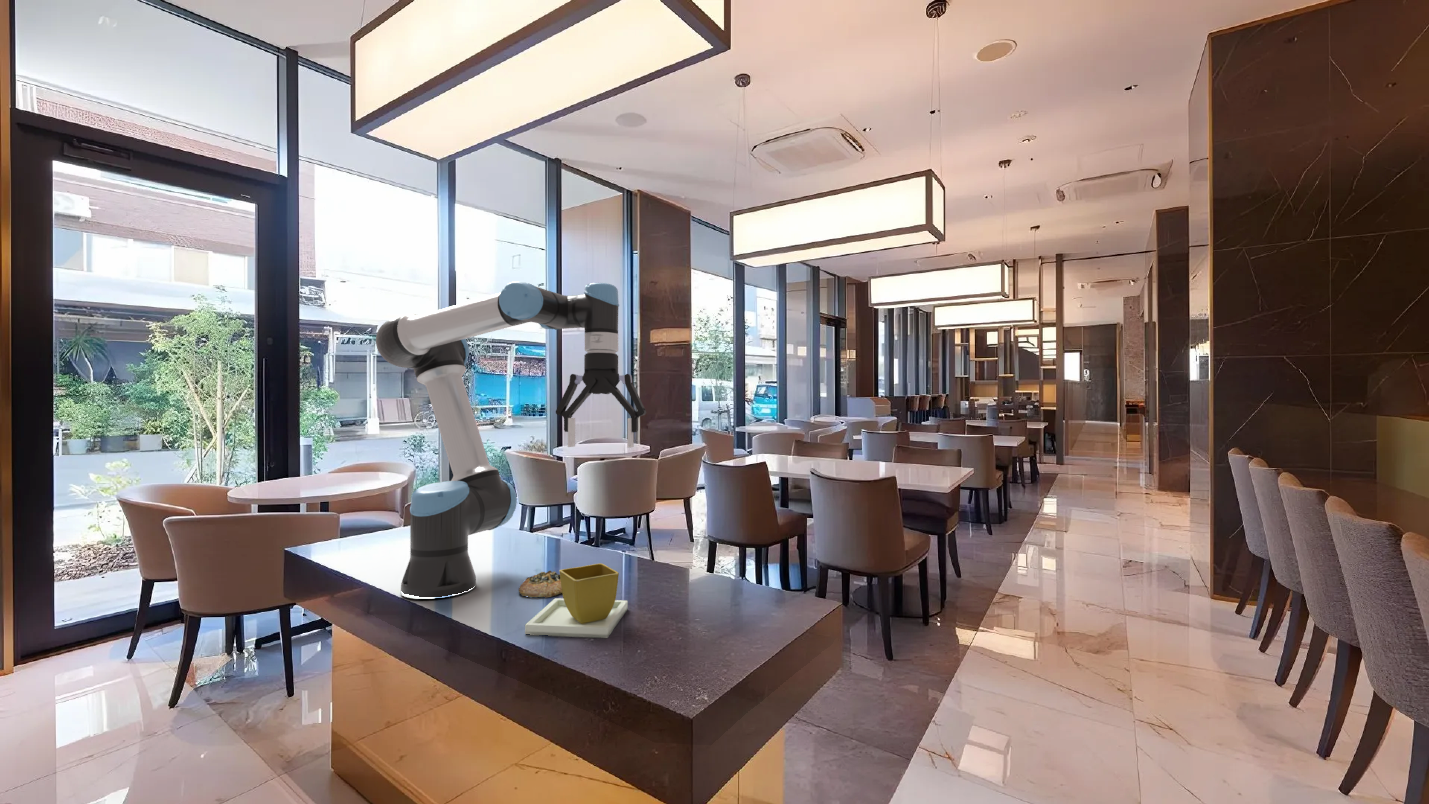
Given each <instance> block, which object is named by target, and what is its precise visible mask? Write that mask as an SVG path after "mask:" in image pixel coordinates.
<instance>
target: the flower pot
mask: <svg viewBox="0 0 1429 804" xmlns="http://www.w3.org/2000/svg"><path fill="white" fill-rule="evenodd" d="M559 575H560V580H561V588H562V593H561V594H562V598H563V599H564V602H565V604H566V607H567V609H568V611H569V612H570V614H571V616H572V617H573V618H575V619H576V620H577V621H578V622H579V623H581V624H585V623H589V622H593V621H598V620H602V619H606V618H607V616H608V615H609V613H610V612H611V610H612V608H613V605H614V603H615V600H617V594H618V593H617V591H618V584H619V575H620V574H619V572H618V571H617V570H615V569H613V568H611V567H610V566H607V565H606V564H604V563H601V562H599V563H593V564H587V565H583V566H582V565H581V566H577V567H576V566H575V567H569V568H563V569H559Z"/></svg>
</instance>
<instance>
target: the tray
mask: <svg viewBox="0 0 1429 804" xmlns="http://www.w3.org/2000/svg"><path fill="white" fill-rule="evenodd" d="M628 604H629V603H628V600H622V599H621V600H620V599H619V600H618V599H615V603H614V605H613V608H612V610H611V612H610V613H609V615H608V616H607V618H606V619H602V620H598V621H593V622H589V623H585V624H581V623H579V622H578V621H577V620H576V619H575V618H573V617H572V616H571V614H570V612H569V611H568V609H567V607H566V604H565V602H564V599H563V597H562V598H559V597H558V598H557V597H556V598H554V599H552V600H551V601H550V602H549V603H548V604H547V605H546V606H545V607H543V608H542V609H541V610H540V611H539V612H537V613H536V615H534V616H533V617H532V618H531V619H530V620H529V621H528V622H527V623H526V624H525V625H524V635H525V634H530V635H529V636H539V635H548V636H547V637H566V638H567V637H568V638H569V637H570V638H571V637H572V638H592V639H593V638H594V639H595V638H597V639H608V638H609V637H610V635H611V634H612V633H613V631H614V629H615V628H616V626H617V625H618V624H619V622H620V621H621V620H622V618H623V616H625V614H626V613H627V611H628Z"/></svg>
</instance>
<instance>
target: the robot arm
mask: <svg viewBox="0 0 1429 804" xmlns="http://www.w3.org/2000/svg"><path fill="white" fill-rule="evenodd" d="M618 290H619V289H618V288H617V286H615V285H613V284H610V283H606V282H591V283H588V284H586V285H585V286H584V292H583V294H582V293H581V294H576V295H573V294H572V295H563V294H560V293H557V292H555V291H552V290H551V291H550V290H548V289H545V288H541V287H539V286H535V285H534V284H531V283H527V282H521V281H511V282H509V283H507V284H506V285H505V286H504V287H503V288H502V289H501V291H500V292H499V293H495V294H491V295H487V296H485V297H481V298H477V299H473V300H470V301H467V302H466V301H465V302H463V303H459V304H456V305H451V306H448V307H445V308H442V309H438V310H434V311H430V312H427V313H424V314H420V315H418V314H415V313H406V314H403V315H398V316H396V317H392V318H391V319H388V320H386V321H385V322H383V324H382V325H381V326H380V327H379V329H378V330H377V333H376V336H375V345H376V349H377V351H378V353H379V354H380V356H381V357H382V358H383V359H384V361H385V362H388V363H389V364H391V365H393V366H395V367H399V368H405V369H413V371H414V375H415V378H416V381H417V382H418V383H419V384H421V385H423V386H425V388H426V391H427V394H428V397H429V401H430V404H431V407H432V411H433V414H434V417H435V421H436V424H437V427H438V430H439V433H440V437H441V439H442V443H443V447H444V449H445V452H446V456H447V459H448V462H449V463H448V464H449V466H450V470H451V471H452V472H451V473H452V474H453V476H452V478H451V480H445V481H444V480H443V481H441V482H433V483H428V484H425V485H422V486H420V487H418V488H417V489H415V490H414V491H413V493H412V494H411V499H410V501H411V502H410V507H409V515H410V516H409V517H410V520H409V521H410V523H409V524H410V526H409V528H410V529H409V530H410V533H409V534H410V537H409V539H410V541H409V542H410V546H409V547H410V549H409V550H410V551H409V552H410V553H409V561H408V563H407V566H406V569H405V572H404V575H403V577H402V581H401V583H400V592H401V591H402V592H403V593H404V594H409V595H414V596H419V597H442V596H448V595H452V594H458V593H462V592H464V591H468V590H469V589H471V588H473V587H474V586H475V585H476V586H477V576H476V573H475V570H474V567H473V564H472V561H471V558H470V555H469V536H470V535H475V534H477V533H481V532H485V531H492V530H494V529H497V528H498V527H502V526H503V525H505V524H507V523H508V522H510V520H511V519H512V518H513V515H514V513H515V511H516V509H517V504H518V501H517V498H518V497H517V493H516V491H515V487H514V486H513V485H512V484H511V483H510V482H508V481H506V480H505V479H502V478H501V475H500V471H499V469H498V468H496V467H495V466H492V465H491V464H490V462H489V458H488V455H487V453H486V449H485V446H484V443H483V440H482V436H481V433H480V431H479V427H478V425H477V422H476V418H475V415H474V412H473V409H472V406H471V402H470V399H469V395H468V393H467V390H466V386H465V384H464V380H463V375H464V374H465V372H466V371H467V369H466V365H467V363H468V361H469V358H468V357H469V356H470V348H469V347H470V346H469V344H468V341H467V339H469V338H474V337H477V336H481V335H484V334H488V333H493V332H495V331H499V330H503V329H507V328H511V327H515V326H520V325H522V324H528V323H536V324H538V325H539V326H540V327H541V328H543V329H545V330H556V331H558V330H562V329H563V330H564V329H565V330H566V329H579V328H580V329H583V328H584V351H585V352H586V353H585V354H584V357H583V358H584V363H583V364H584V367H583V368H584V372H583V375H581V374H580V375H578V374H575V373H571V374H570V375H569V382H568V383H569V384H568V385H567V388H566V390H565V392H564V394H563V395H562V397H561V399H560V401H559V404H558V405H557V407H556V410H555V414H556V415H558V416H561V417H562V418H563V430H564V432H565V433H567V447H568V448H574V447H576V417H573V416H574V414H575V413H576V412H577V411H578V410H579V408H580V407H581V406H582V405H583V403H585V402H586V399H588V397H589V396H591V394H592V395H600V394H603V395H610V394H611V395H612V396H614V397H615V399H616V400H617V401H618V403H619V404H620V405H621V406H622V407H623V409H624V410H625V411H626V412H627V413H628V415H629V416H630V417H629V418H627V441H626V442H627V447H626V448H631V449H632V448H633V447H634V441H635V440H634V434H635V433H638V431H639V418H640V417H642V416H645V415H646V414H647V411H646V408H645V406H644V404H643V402H642V400H641V398H640V396H639V394H638V391H637V389H636V388H635V386H634V381H633V375H632V374H631V373H630V374H629V373H625V374H622V375H620V374H619V355H618V354H617V353H618V352H619V307H620V304H619V303H620V302H619V291H618ZM620 381H621V383H622V384H623V385H624V386H625V387H626V390H627V391H628V393H629V396H630V398H631V400H632V402H633V404H634V406H635V408H634V407H633V406H632V405H631V404H630V402H629V401H628V400H627V399H626V397H625V396H624V395H623V394H622V392H621V391H620V390H619V388H618V384H619V383H620ZM581 382H583V384H585V386H584V387H583V388H582V390H581V392H580V393H579V394H578V396H577V397H576V398H575V399H574V400H573V402H572V403H571V404H570V402H571V400H572V398H573V396H574V394H575V392H576V390H577V388H578V386H579V385H580V384H581ZM569 404H570V405H569Z"/></svg>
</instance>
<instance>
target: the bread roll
mask: <svg viewBox="0 0 1429 804" xmlns="http://www.w3.org/2000/svg"><path fill="white" fill-rule="evenodd" d="M518 592H519V595H520V594H521V595H522V596H521V595H520V596H521V597H523V596H528V597H545V598H551V597H555V596H558V595H560V594H562V588H561V580H560V573H559V574H558V573H557V571H555V570H553V571H552V570H548V571H547V572H545V571H540V572H539V573H537V574H534V575H532V576H529V577H528V576H527V577H526V578H525V580H524V581H523V582H522V583H521V584H520V586H519V587H518Z"/></svg>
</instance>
